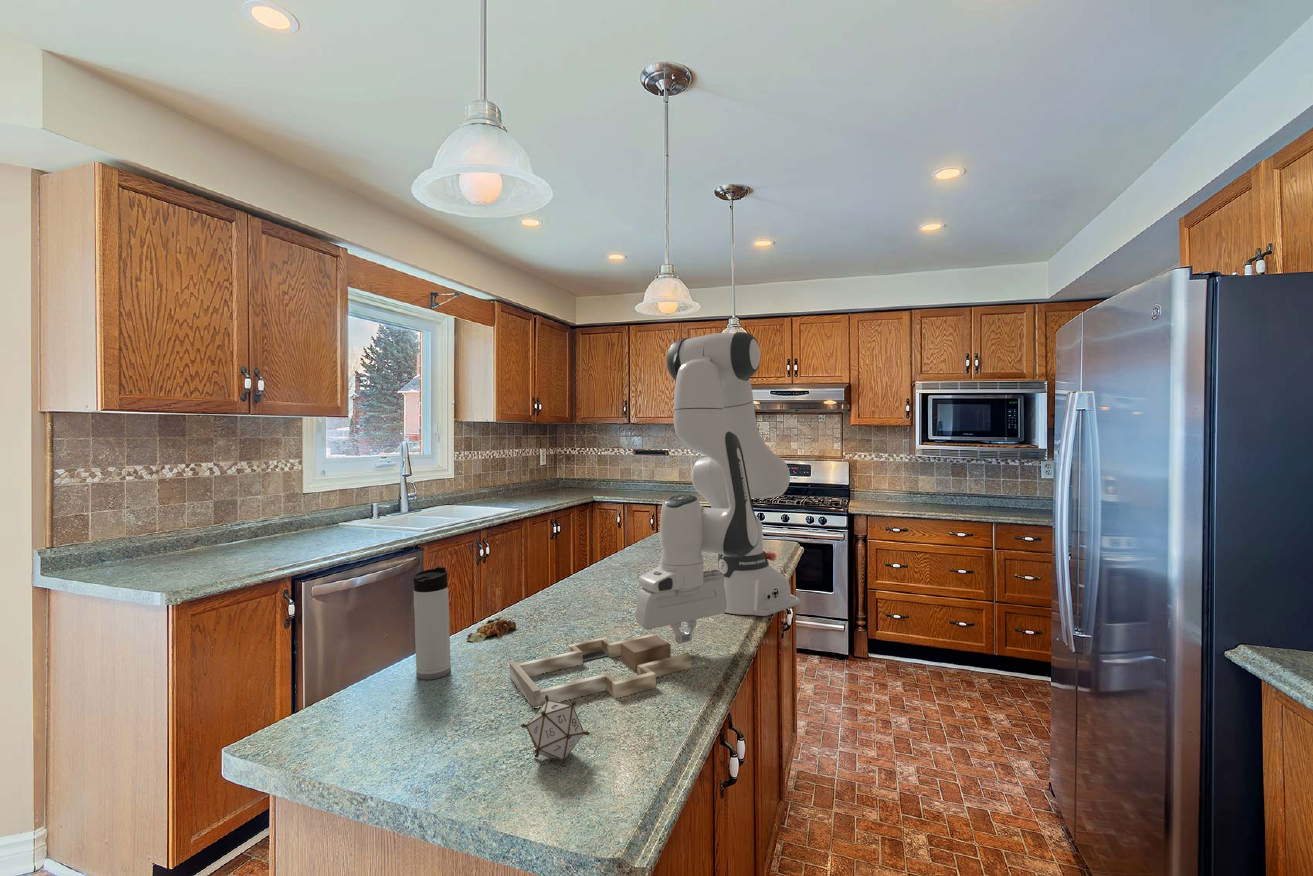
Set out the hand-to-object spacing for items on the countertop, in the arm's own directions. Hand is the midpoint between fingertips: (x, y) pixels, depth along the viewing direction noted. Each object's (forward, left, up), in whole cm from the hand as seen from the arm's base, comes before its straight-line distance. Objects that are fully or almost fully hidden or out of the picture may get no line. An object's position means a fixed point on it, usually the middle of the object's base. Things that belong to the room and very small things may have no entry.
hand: (683, 641), depth 122 cm
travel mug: (+46, -18, -3) cm, 49 cm away
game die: (+36, +23, -3) cm, 43 cm away
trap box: (+18, 0, -2) cm, 19 cm away
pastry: (+31, -34, -3) cm, 46 cm away
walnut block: (+9, 0, -3) cm, 9 cm away
